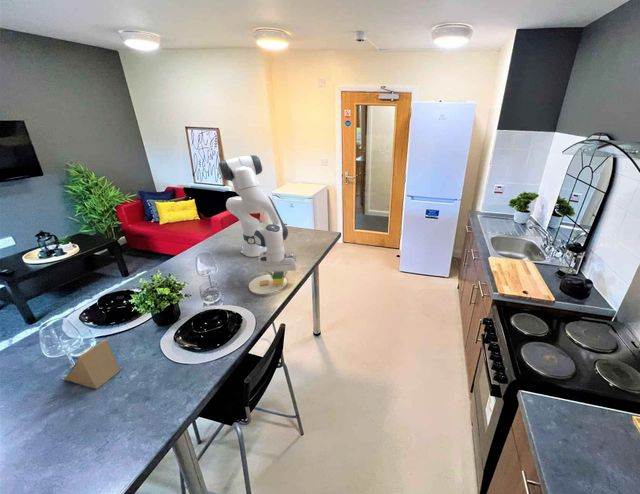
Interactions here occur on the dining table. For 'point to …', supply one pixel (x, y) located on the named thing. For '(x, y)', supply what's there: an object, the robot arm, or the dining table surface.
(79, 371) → the sandwich container
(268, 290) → the plate
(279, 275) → the sponge
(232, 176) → the robot arm
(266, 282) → the cracker
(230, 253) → the dining table surface
